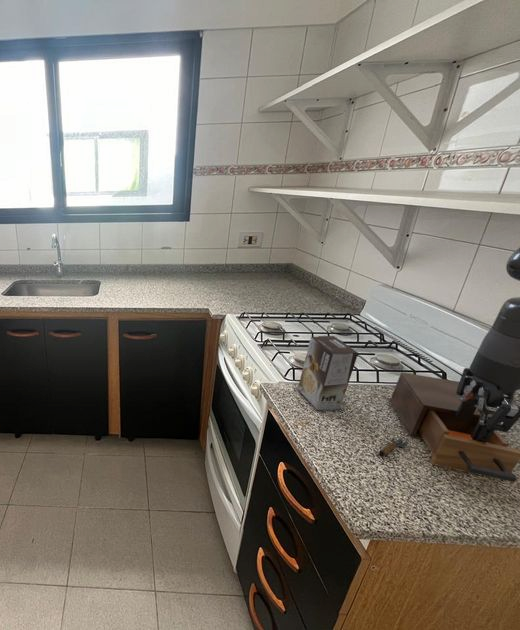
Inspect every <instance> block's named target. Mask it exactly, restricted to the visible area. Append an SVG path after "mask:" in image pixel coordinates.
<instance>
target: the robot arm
mask: <svg viewBox="0 0 520 630" xmlns="http://www.w3.org/2000/svg"><path fill="white" fill-rule="evenodd" d="M505 265H506V266H505V270H506V273H507V275H508V276H509V277H510V278H512V279H513V280H515V281H518V282H520V246H519V247H517V249H516V250H514V252H513V253H512V254H511V255H510V256H509V258H508V259H507V262H506V264H505ZM474 355H475V356H474V357H473V359H472V362H471V364H470V365H469V368H468V367H465V368H463V370H462V374H461V375H460V380H459V381H458V382H459V385H458V388H457V391H456V394H457V395H460V396H461V397H460V399H459V400H460V402H461V404H460V406H459V408H458V410H457V412H456V414H455V418H456V419H457V420H460V421H465V422H469V421H470V420H471V418H472V416H473V414H474V412H475V410H476V408H477V407H476V406H475V405H478V408H477V410H478V411H479V412H480V418H479V423H477V425H476V427H475V429H474V430H473V432H472V434H471V438H472V439H473V440H476V441H481V442H488V441H489V439H490V437H491V436H492V434H493V432H494V430H497V431H498V432H502V433H508V432H509V431H510V430H511V429H512V427H513V426H514V425H515V424H516V423H517V422H518V421H519V419H520V406H519V405H516V404H515V403H514V399H515V393H516V391H518V390H520V296H515V297H510V298H508V299H506V301H504V302H503V304H502V305H501V307H500V309H499V311H498V313H497V315H496V317H495V319H494V321H493V323H492V325H491V327H490V328H489V330H488V331H487V332H486V334H485V335H484V338H483V339H482V340H481V343H480V345H479V347H478V349H477V351H476V354H474ZM465 386H468V387H467V388H466V389H465ZM464 389H465V390H464ZM486 406H487V407H488V408H489V409H487V408H486ZM490 408H493V409H490ZM494 409H495V410H494ZM489 414H492V417H491V418H490V419H489V420H487V418H488V415H489Z"/></svg>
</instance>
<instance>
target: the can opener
mask: <svg viewBox="0 0 520 630" xmlns="http://www.w3.org/2000/svg"><path fill="white" fill-rule="evenodd" d="M395 440H396V438H391V443H390V444H388V445H387V446H385V447H383V448H381V450H379V452H378V454H379V455H380V456H382V457H385V456H386V455H388V454H390V453H391V452H392V451H393V450H395V449H396V448H397V447H399V448H406V447H407V446H408V441H407V440H406V441H404V439H403V438H402V437H400V438H399V439H398V440H396V441H395Z"/></svg>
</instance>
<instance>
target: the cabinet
mask: <svg viewBox="0 0 520 630" xmlns="http://www.w3.org/2000/svg"><path fill="white" fill-rule="evenodd" d="M459 382H460V381H457V380H451V379H446V378H439V377H432V376H426V375H420V374H414V373H409V372H400V374H399V377H398V380H397V382H396V385H395V387H394V389H393V392H392V395H391V397H390V398H389V401H390V403H391V405H392V406H393V408H394V410H395V412H396V413H397V415H398V417H399V419H400V421H401V422H402V425H403V426H404V428H405V429H406V431H407V433H408V435H409V436H410V437H412V438H419V439H422V440H423V438H422V436H421V435H420V433H419V432H418V428H419V426H420V424H421V422H422V420H423V417H424V415H425V413H426V411H427V409H432V410H437V411H442V412H448V413H453V414H456V412H457V410H458V408H459V406H460V404H461V402H460V400H459V399H460V397H461V396H460V395H457V394H456V391H457V388H458V385H459ZM467 387H468V386H465V389H466V388H467ZM465 389H464V390H465ZM475 406H476V407H477V408H478V405H475ZM477 408H476V410H475V412H474V414H473V416H472V417H474V418H480V412H479V411H478V410H477ZM486 408H487V409H490V407H487V406H486ZM491 417H492V414H489V415H488V418H487V420H489V419H490V418H491Z"/></svg>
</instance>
